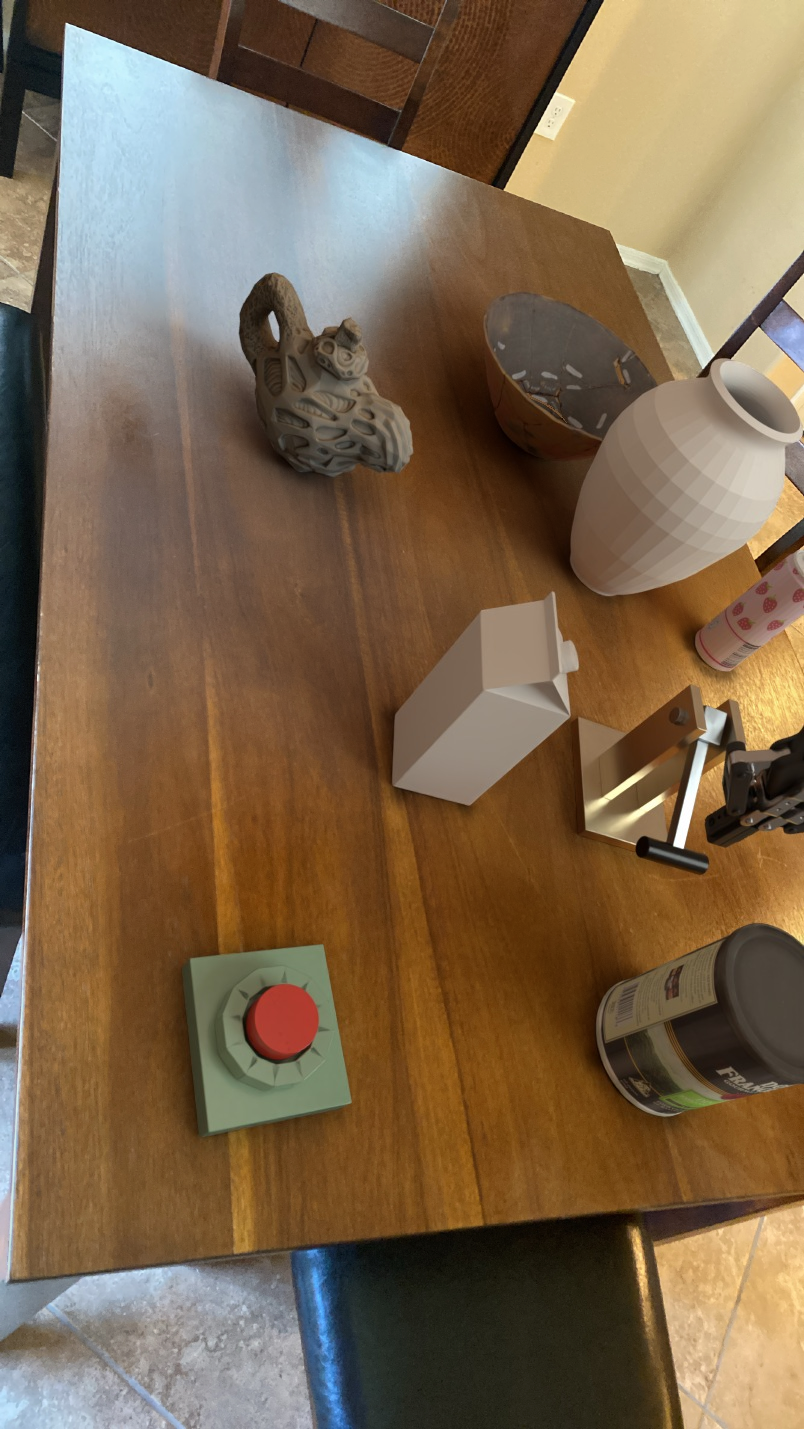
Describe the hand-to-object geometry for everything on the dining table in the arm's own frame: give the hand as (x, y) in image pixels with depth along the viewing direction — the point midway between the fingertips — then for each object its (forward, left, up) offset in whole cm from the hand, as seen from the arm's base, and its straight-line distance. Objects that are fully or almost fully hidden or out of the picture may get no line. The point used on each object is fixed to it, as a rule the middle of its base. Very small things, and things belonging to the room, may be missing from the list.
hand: (713, 834), depth 67 cm
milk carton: (+12, +16, -11) cm, 23 cm away
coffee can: (-13, +3, -11) cm, 17 cm away
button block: (-8, +34, -11) cm, 37 cm away
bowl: (+58, -11, -11) cm, 60 cm away
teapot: (+47, +22, -11) cm, 53 cm away
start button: (-8, +34, -7) cm, 36 cm away
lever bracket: (+9, -3, -11) cm, 15 cm away
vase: (+36, -12, -11) cm, 40 cm away
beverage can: (+26, -25, -11) cm, 38 cm away
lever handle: (+6, -2, -3) cm, 6 cm away
